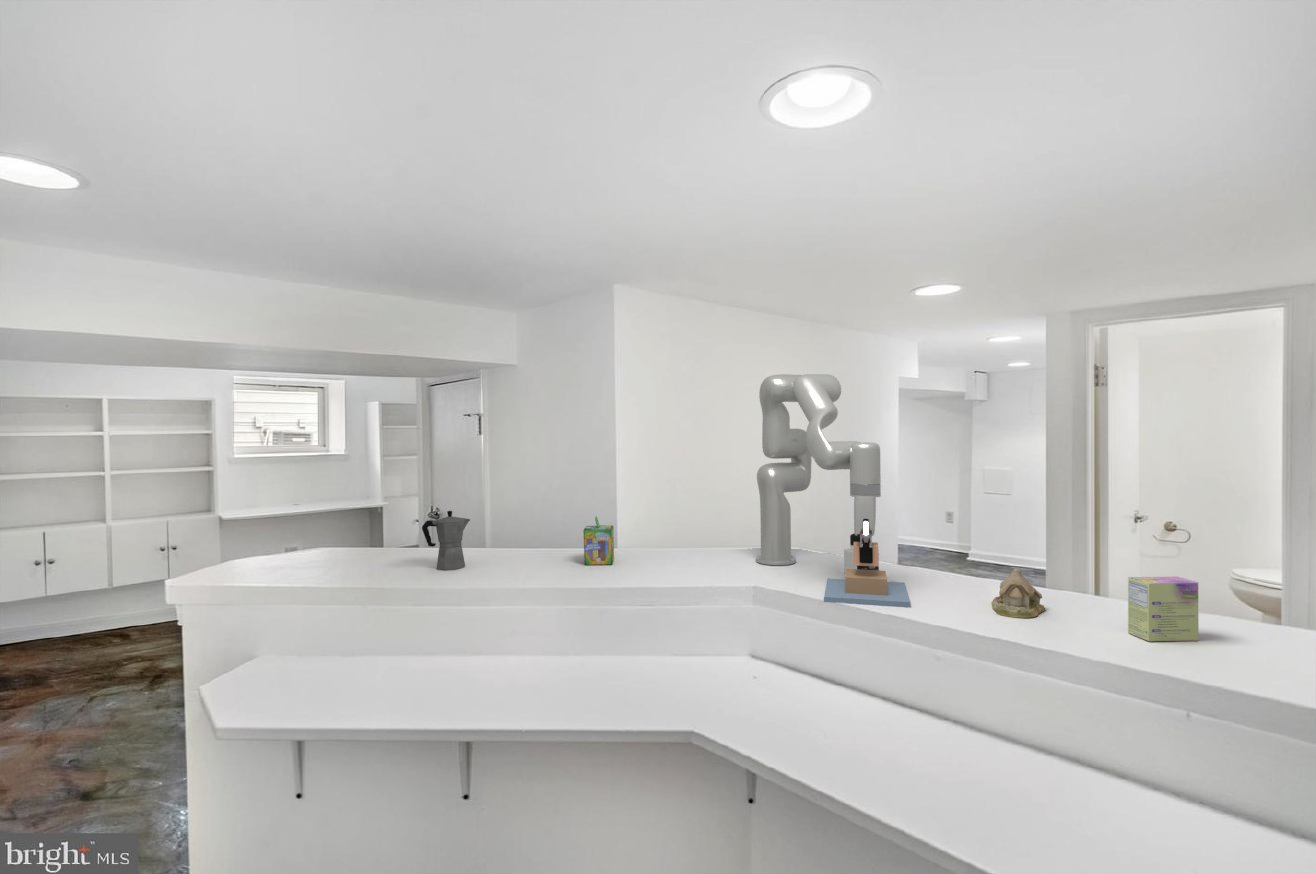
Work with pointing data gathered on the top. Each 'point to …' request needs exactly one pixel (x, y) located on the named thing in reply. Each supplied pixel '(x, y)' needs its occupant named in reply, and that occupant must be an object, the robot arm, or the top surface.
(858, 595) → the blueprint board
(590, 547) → the chalk box
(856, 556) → the terracotta block
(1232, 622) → the top surface
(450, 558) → the coffeepot
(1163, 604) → the box
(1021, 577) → the ceramic model
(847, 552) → the medicine bottle
